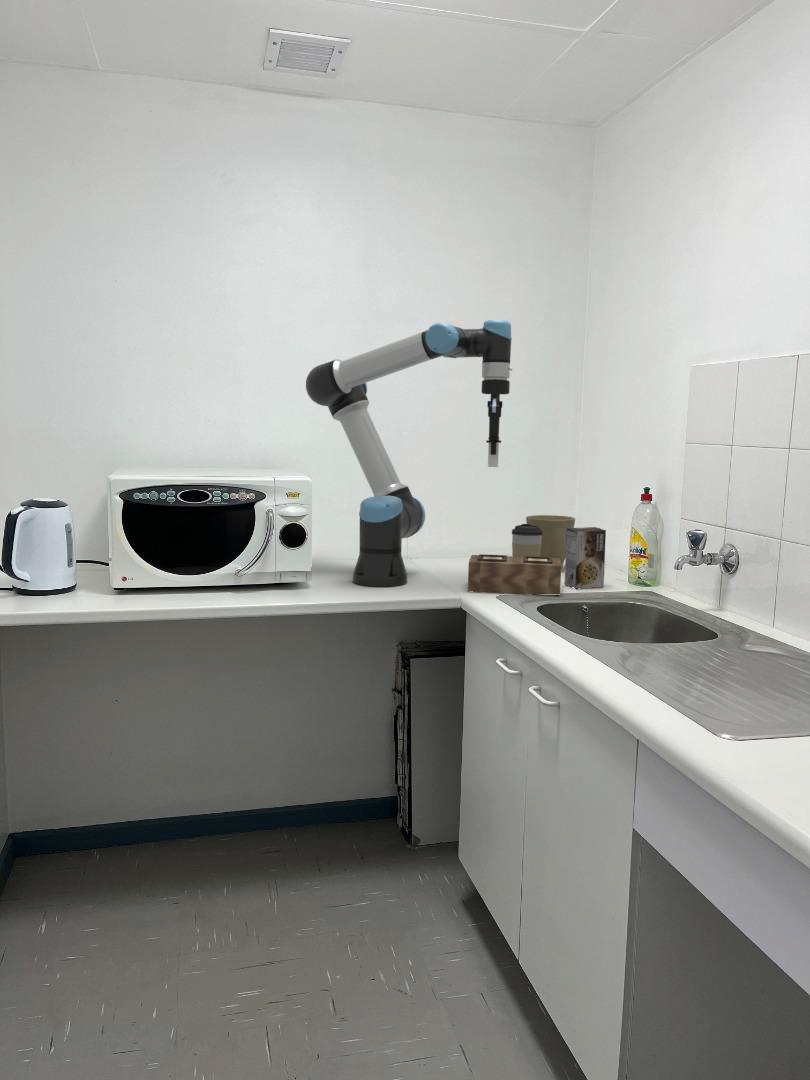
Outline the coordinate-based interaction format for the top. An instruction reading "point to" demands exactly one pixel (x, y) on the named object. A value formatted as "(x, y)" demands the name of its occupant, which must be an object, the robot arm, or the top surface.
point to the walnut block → (514, 575)
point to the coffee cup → (526, 540)
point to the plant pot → (552, 534)
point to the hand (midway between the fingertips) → (493, 466)
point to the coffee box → (585, 557)
